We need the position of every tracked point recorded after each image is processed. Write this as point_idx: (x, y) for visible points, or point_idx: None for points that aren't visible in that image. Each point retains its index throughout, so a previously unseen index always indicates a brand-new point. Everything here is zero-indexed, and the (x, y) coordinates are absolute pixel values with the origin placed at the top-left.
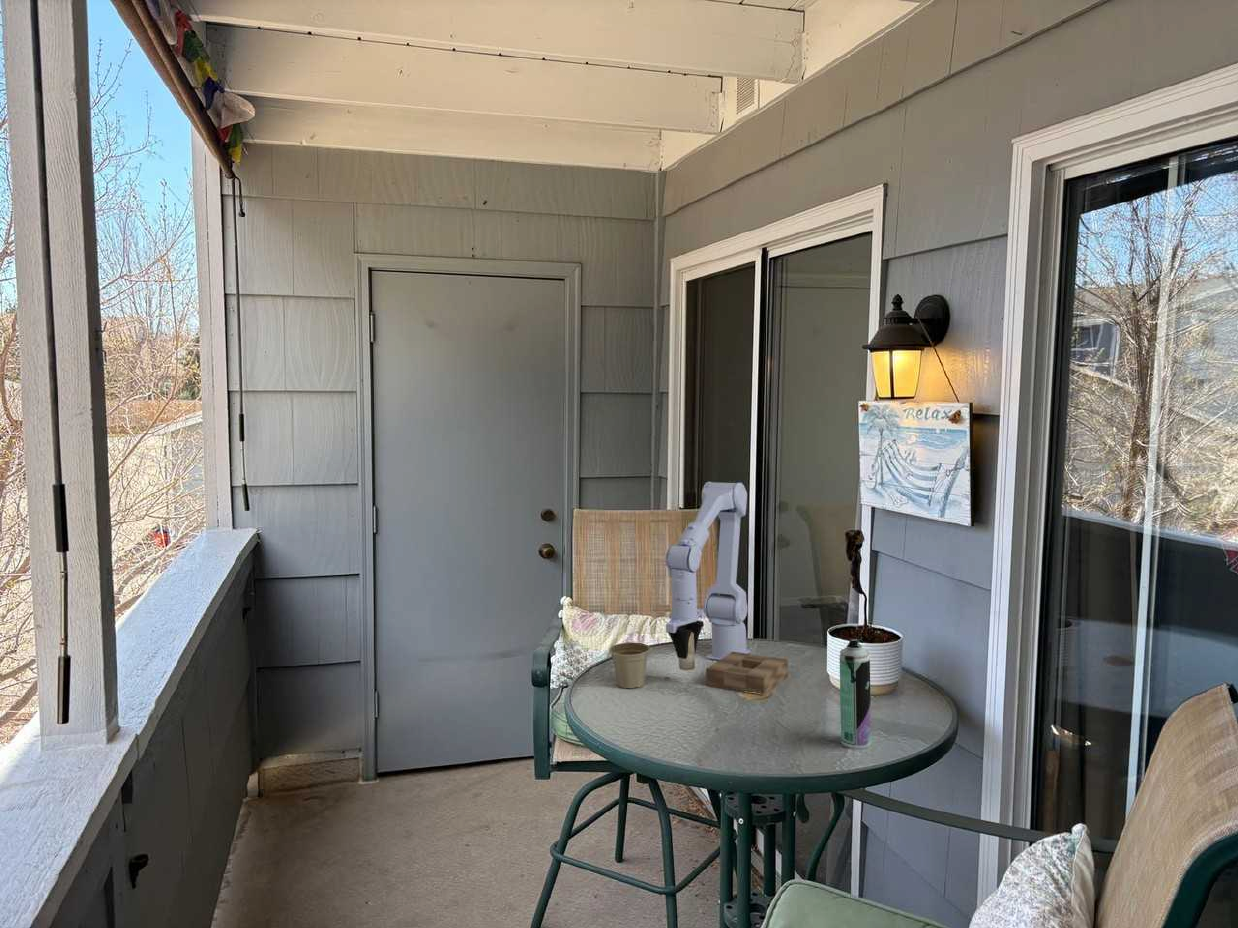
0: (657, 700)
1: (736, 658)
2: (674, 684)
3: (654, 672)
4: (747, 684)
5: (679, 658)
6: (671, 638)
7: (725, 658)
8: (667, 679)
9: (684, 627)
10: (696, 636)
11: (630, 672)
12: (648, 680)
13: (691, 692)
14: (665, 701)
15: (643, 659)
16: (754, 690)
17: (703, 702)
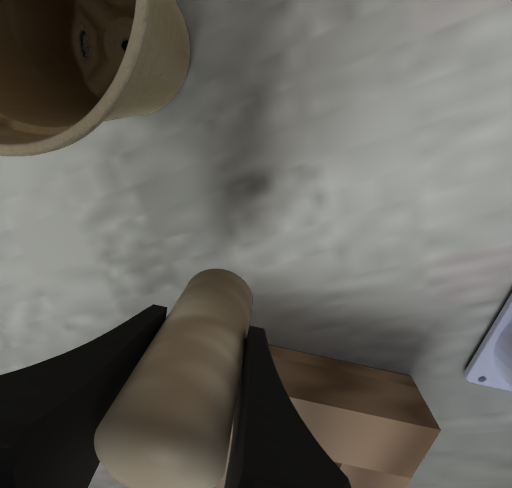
0: (31, 219)
1: (349, 448)
2: (195, 232)
3: (312, 103)
4: None
5: (179, 300)
6: (35, 366)
7: (343, 418)
8: (239, 190)
9: (236, 470)
10: (227, 472)
11: (4, 58)
12: (205, 113)
13: (144, 303)
14: (37, 247)
15: (13, 124)
16: None
17: None
